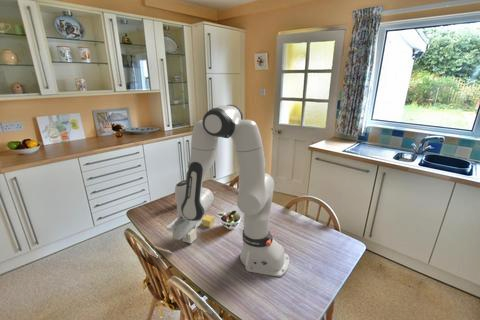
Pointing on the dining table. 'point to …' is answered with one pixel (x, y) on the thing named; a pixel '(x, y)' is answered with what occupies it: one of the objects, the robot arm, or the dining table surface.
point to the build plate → (176, 220)
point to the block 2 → (208, 221)
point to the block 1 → (191, 236)
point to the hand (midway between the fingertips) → (189, 236)
